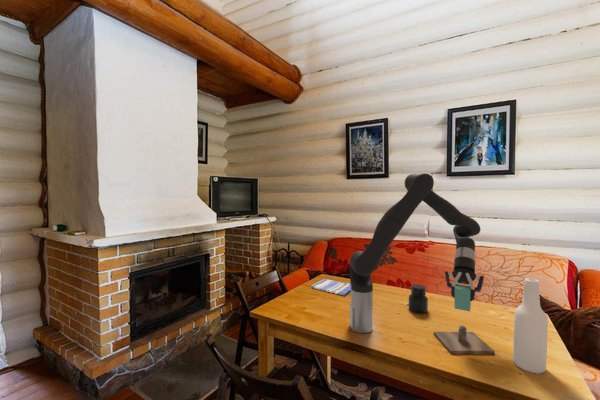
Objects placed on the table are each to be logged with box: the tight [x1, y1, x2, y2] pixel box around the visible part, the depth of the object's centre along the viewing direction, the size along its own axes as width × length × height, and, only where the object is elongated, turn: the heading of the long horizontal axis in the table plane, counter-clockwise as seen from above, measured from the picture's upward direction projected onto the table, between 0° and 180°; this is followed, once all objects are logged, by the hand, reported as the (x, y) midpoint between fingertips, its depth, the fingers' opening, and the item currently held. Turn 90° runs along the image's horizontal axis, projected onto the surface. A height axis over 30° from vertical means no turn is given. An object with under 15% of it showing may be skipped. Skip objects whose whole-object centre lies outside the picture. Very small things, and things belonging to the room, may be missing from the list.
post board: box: [433, 325, 496, 355], centre depth 112 cm, size 16×14×7 cm
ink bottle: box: [408, 283, 429, 314], centre depth 143 cm, size 10×9×12 cm
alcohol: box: [512, 277, 549, 375], centre depth 97 cm, size 9×9×30 cm
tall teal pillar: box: [454, 284, 472, 312], centre depth 111 cm, size 5×5×8 cm
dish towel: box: [311, 278, 351, 297], centre depth 174 cm, size 17×24×3 cm
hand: (462, 298), depth 110 cm, fingers closed on tall teal pillar, 5 cm apart
